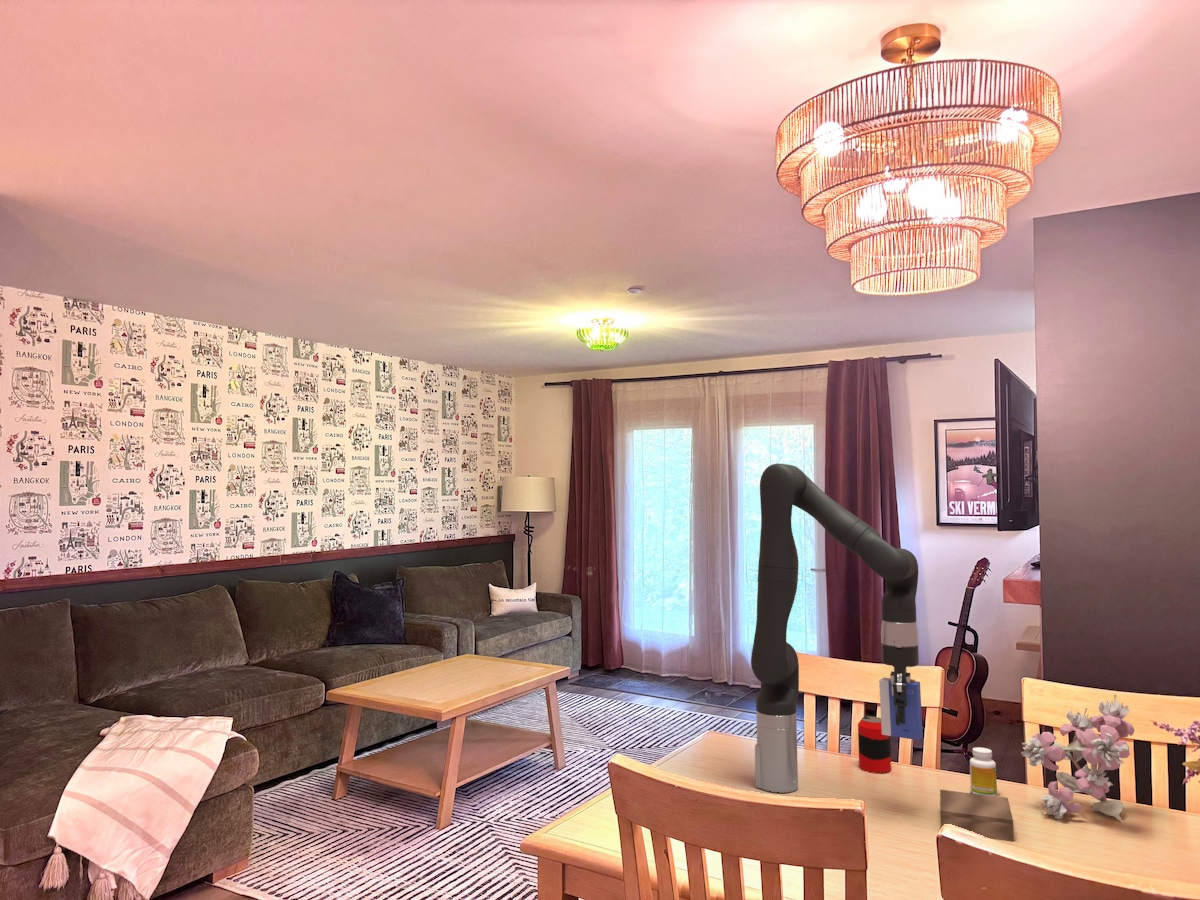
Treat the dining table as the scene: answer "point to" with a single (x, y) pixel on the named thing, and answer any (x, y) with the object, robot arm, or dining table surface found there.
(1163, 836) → the dining table surface
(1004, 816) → the walnut stand
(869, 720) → the soda can
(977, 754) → the supplement bottle
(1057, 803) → the flower
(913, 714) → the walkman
